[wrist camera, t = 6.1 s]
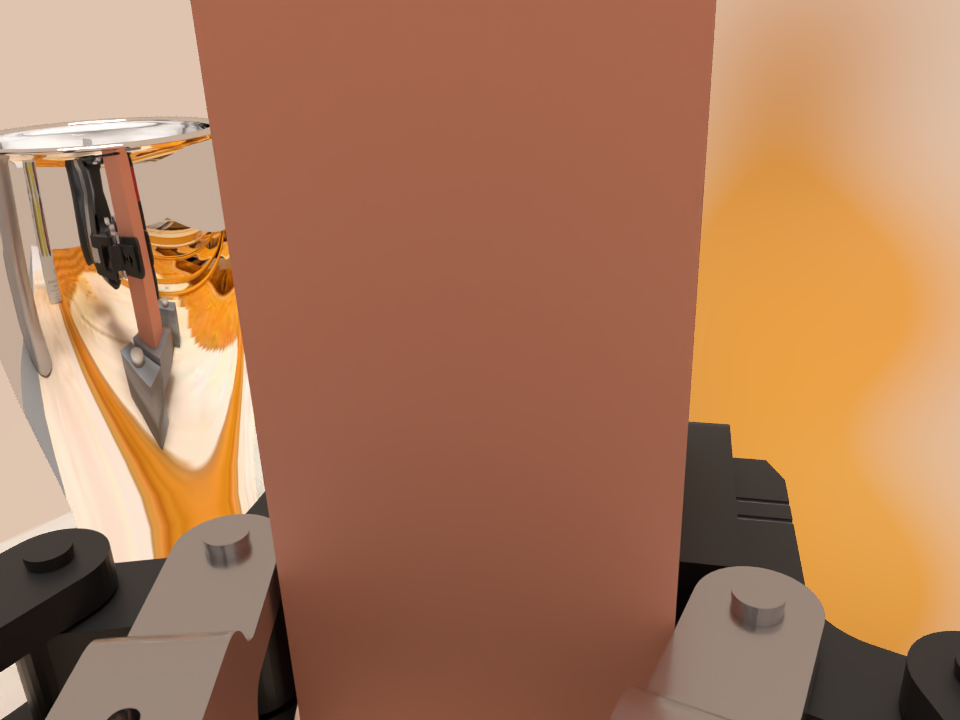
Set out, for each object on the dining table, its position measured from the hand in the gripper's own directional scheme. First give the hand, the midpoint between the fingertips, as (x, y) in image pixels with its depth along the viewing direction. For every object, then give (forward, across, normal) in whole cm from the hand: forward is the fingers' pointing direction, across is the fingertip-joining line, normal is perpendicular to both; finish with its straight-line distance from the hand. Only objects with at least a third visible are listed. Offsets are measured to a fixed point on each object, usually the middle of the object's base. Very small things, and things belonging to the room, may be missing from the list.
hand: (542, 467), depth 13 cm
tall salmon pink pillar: (-3, 0, +10) cm, 10 cm away
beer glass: (+8, +13, +11) cm, 19 cm away
